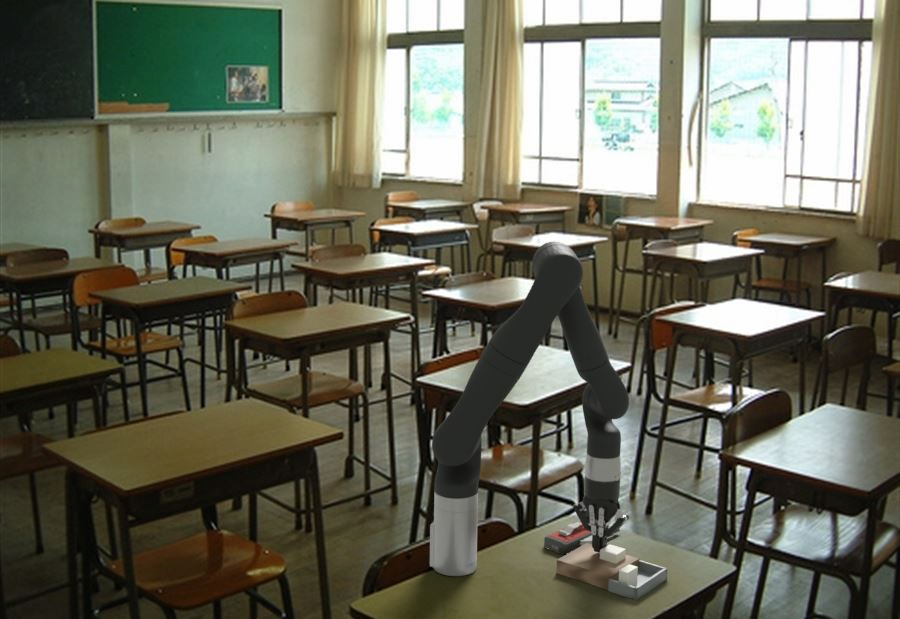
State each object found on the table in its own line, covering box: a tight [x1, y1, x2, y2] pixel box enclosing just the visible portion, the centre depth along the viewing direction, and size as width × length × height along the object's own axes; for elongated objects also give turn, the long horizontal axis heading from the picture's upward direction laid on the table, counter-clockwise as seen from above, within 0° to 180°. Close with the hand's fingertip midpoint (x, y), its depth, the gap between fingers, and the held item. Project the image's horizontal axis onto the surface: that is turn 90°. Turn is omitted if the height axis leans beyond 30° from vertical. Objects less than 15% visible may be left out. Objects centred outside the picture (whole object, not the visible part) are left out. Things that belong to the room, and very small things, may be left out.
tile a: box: [619, 564, 638, 586], centre depth 233 cm, size 4×4×2 cm
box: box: [607, 559, 668, 601], centre depth 235 cm, size 6×13×2 cm, turn 141°
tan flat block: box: [556, 543, 640, 591], centre depth 241 cm, size 13×12×3 cm
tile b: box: [600, 544, 627, 564], centre depth 241 cm, size 4×4×2 cm
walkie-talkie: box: [543, 521, 621, 555], centre depth 258 cm, size 9×4×20 cm
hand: (599, 551), depth 244 cm, fingers closed
